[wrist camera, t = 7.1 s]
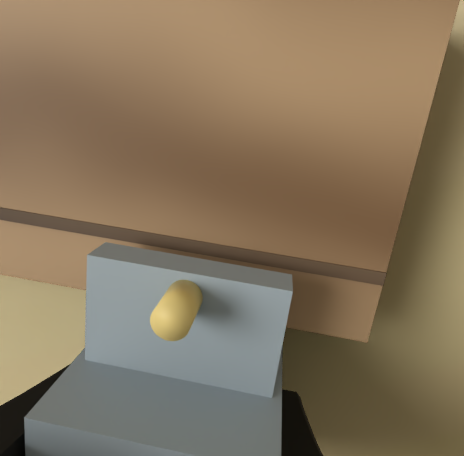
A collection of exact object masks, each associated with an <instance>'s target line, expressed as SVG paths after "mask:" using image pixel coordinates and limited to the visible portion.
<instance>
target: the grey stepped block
mask: <svg viewBox="0 0 464 456" xmlns="http://www.w3.org/2000/svg"><path fill="white" fill-rule="evenodd" d="M292 293H293V283H292V274H287V273H281V272H275V271H269V270H263V269H258V268H252V267H246V266H240V265H235V264H229V263H223V262H217V261H212V260H206V259H200V258H194V257H188V256H183V255H177V254H171V253H165V252H160V251H154V250H148V249H142V248H136V247H131V246H125V245H119V244H113V243H108V242H105V243H103V244H102V245H101V246H99V247H98V248H96V249H95V250H93V251H92V252H91V253H89V254H88V255H87V280H86V328H85V348H84V349H83V351H82V352H81V353H80V354H79V355H78V356H77V357H76V359H75V360H74V361H73V362H72V363H71V364H70V365H69V367H68V368H67V369H66V370H65V371H64V372H63V374H62V375H61V376H60V377H59V378H58V379H57V380H56V382H55V383H54V384H53V385H52V386H51V387H50V389H49V390H48V391H47V392H46V393H45V394H44V395H43V397H42V398H41V399H40V400H39V401H38V402H37V403H36V405H35V406H34V407H33V408H32V409H31V410H30V412H29V413H28V414H27V415H26V416H25V417H24V429H25V456H281V429H282V351H283V339H284V334H285V329H286V324H287V319H288V314H289V309H290V303H291V298H292Z"/></svg>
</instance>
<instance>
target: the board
mask: <svg viewBox="0 0 464 456" xmlns="http://www.w3.org/2000/svg"><path fill="white" fill-rule="evenodd" d="M459 1H460V0H0V274H2V275H7V276H12V277H18V278H23V279H28V280H34V281H39V282H45V283H50V284H55V285H61V286H66V287H71V288H77V289H82V290H86V280H87V255H88V254H89V253H91V252H92V251H93V250H95V249H96V248H98V247H99V246H101V245H102V244H103V243H105V242H108V243H113V244H119V245H125V246H131V247H136V248H142V249H148V250H154V251H160V252H165V253H171V254H177V255H183V256H188V257H194V258H200V259H206V260H212V261H217V262H223V263H229V264H235V265H240V266H246V267H252V268H258V269H263V270H269V271H275V272H281V273H287V274H292V283H293V293H292V298H291V303H290V309H289V314H288V319H287V324H286V328H292V329H297V330H302V331H308V332H313V333H319V334H324V335H329V336H335V337H340V338H345V339H351V340H356V341H361V342H368V338H369V335H370V331H371V327H372V323H373V320H374V316H375V312H376V309H377V305H378V301H379V298H380V294H381V290H382V286H383V285H384V281H385V278H386V274H387V273H386V272H387V268H388V264H389V260H390V257H391V253H392V249H393V246H394V242H395V238H396V234H397V231H398V227H399V223H400V220H401V216H402V212H403V209H404V205H405V201H406V197H407V194H408V190H409V186H410V183H411V179H412V175H413V171H414V168H415V164H416V160H417V157H418V153H419V149H420V146H421V142H422V138H423V134H424V131H425V127H426V123H427V120H428V116H429V112H430V108H431V105H432V101H433V97H434V94H435V90H436V86H437V83H438V79H439V75H440V71H441V68H442V64H443V60H444V57H445V53H446V49H447V45H448V42H449V38H450V34H451V31H452V27H453V23H454V19H455V16H456V12H457V8H458V5H459Z"/></svg>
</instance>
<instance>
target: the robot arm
mask: <svg viewBox="0 0 464 456" xmlns="http://www.w3.org/2000/svg"><path fill="white" fill-rule="evenodd" d="M68 367H69V365H68V366H66V367H65V368H63V369H62V370H60V371H59V372H57V373H55V374H54V375H52V376H50V377H49V378H47V379H46V380H44V381H42V382H41V383H39V384H37V385H36V386H34V387H32V388H31V389H29V390H27V391H26V392H24V393H22V394H21V395H19V396H17V397H15V398H14V399H12V400H10V401H8V402H6V403H5V404H3V405H1V406H0V456H25V429H24V417H25V416H26V415H27V414H28V413H29V412H30V410H31V409H32V408H33V407H34V406H35V405H36V403H37V402H38V401H39V400H40V399H41V398H42V397H43V395H44V394H45V393H46V392H47V391H48V390H49V389H50V387H51V386H52V385H53V384H54V383H55V382H56V380H57V379H58V378H59V377H60V376H61V375H62V374H63V372H64V371H65V370H66V369H67V368H68ZM281 456H323V455H322V453H321V451H320V448H319V446H318V444H317V442H316V439H315V437H314V434H313V432H312V429H311V427H310V424H309V422H308V419H307V417H306V414H305V411H304V408H303V405H302V402H301V399H300V396H299V395H298V393H297V392H293V391H288V390H283V389H282V429H281Z"/></svg>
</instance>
